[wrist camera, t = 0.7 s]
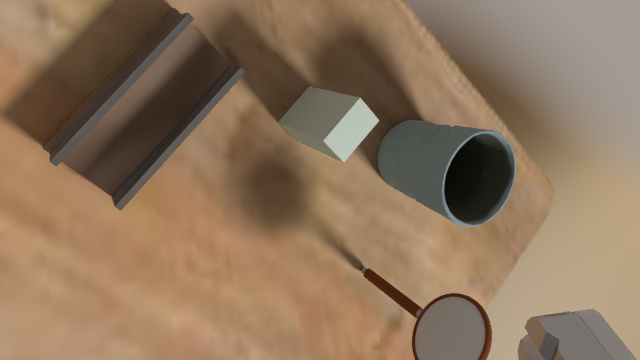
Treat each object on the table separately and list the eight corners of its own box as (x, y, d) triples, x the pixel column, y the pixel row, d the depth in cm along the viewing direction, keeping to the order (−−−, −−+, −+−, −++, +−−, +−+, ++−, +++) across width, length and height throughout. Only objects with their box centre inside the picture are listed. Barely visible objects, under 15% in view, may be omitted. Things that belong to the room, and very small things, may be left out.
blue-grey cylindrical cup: (367, 125, 56) (437, 147, 46) (437, 102, 60) (516, 118, 49) (378, 205, 59) (446, 242, 49) (443, 179, 63) (518, 208, 53)
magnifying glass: (377, 237, 61) (503, 318, 44) (386, 242, 62) (513, 324, 45) (339, 297, 60) (451, 402, 43) (349, 301, 61) (462, 406, 44)
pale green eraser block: (277, 122, 51) (323, 140, 42) (309, 86, 51) (360, 97, 43) (296, 140, 52) (343, 162, 44) (326, 105, 53) (379, 120, 44)
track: (43, 145, 41) (42, 156, 38) (172, 8, 43) (182, 6, 40) (121, 201, 45) (127, 214, 42) (236, 73, 47) (250, 77, 44)
